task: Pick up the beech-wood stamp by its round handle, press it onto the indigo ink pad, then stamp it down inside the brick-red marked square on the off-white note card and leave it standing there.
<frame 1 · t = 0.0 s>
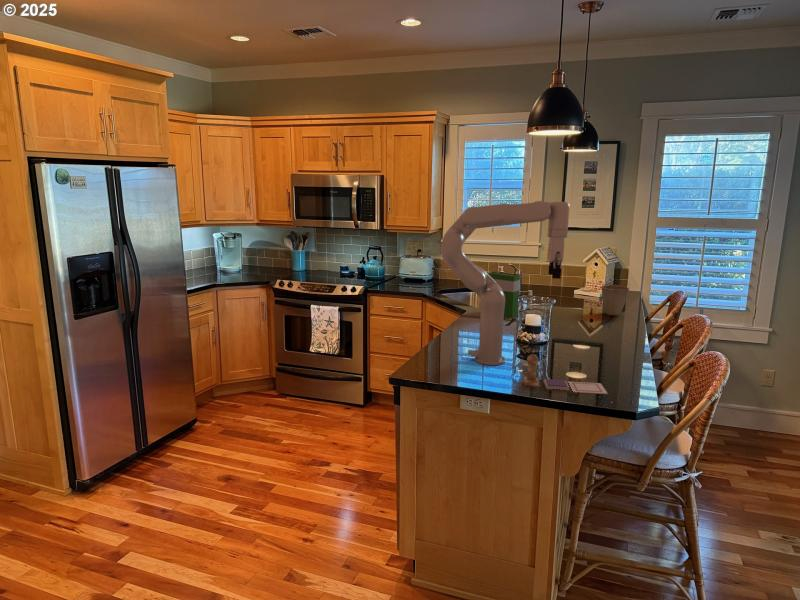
hand: (554, 276, 211), 37 cm above the countertop, tool pointing down, fingers open, 9 cm apart
note card: (586, 387, 192), on the countertop
ink pad: (556, 386, 194), on the countertop
stamp: (531, 385, 195), on the countertop
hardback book: (500, 315, 303), on the countertop
plant pot: (612, 314, 308), on the countertop
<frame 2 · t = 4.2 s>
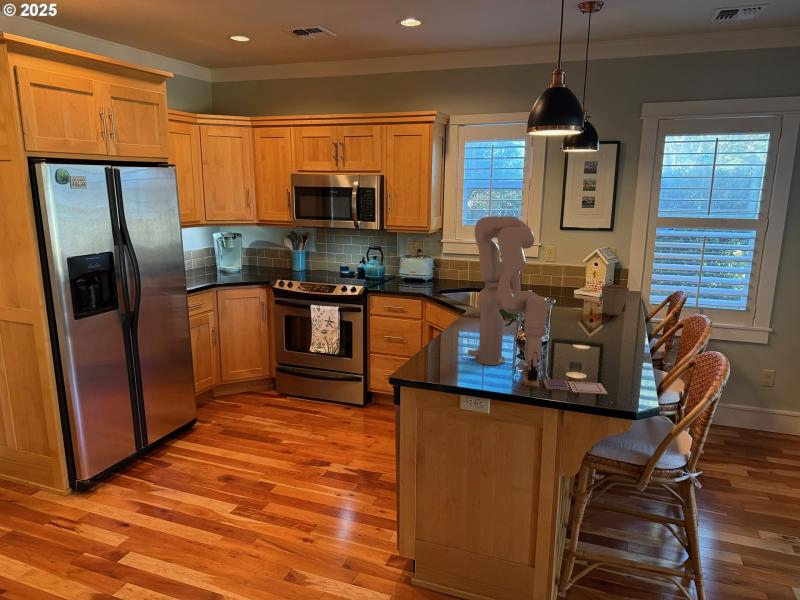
hand: (531, 377, 194), 3 cm above the countertop, tool pointing down, fingers closed on stamp, 3 cm apart
stamp: (531, 385, 195), on the countertop, touching gripper
everything else where it was.
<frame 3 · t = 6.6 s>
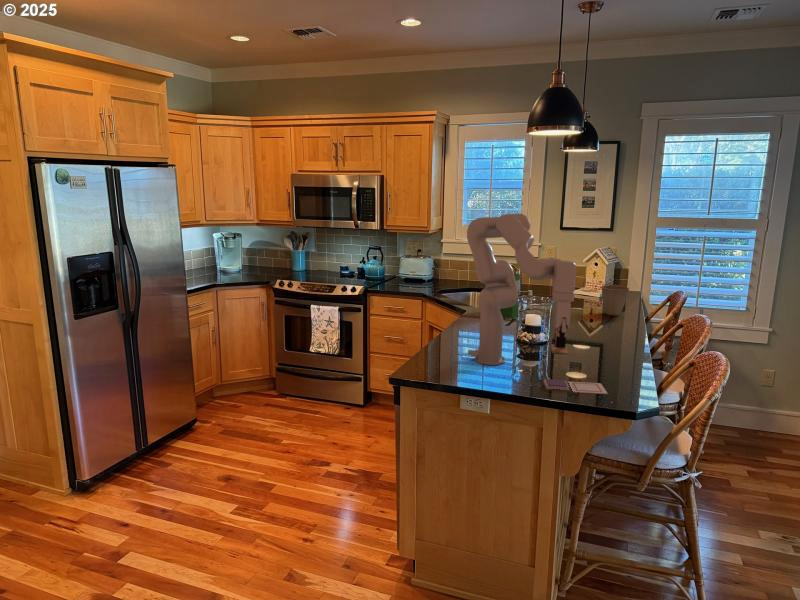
hand: (559, 345, 190), 16 cm above the countertop, tool pointing down, fingers closed on stamp, 3 cm apart
stamp: (559, 352, 191), point 13 cm above the countertop, touching gripper
everything else where it was.
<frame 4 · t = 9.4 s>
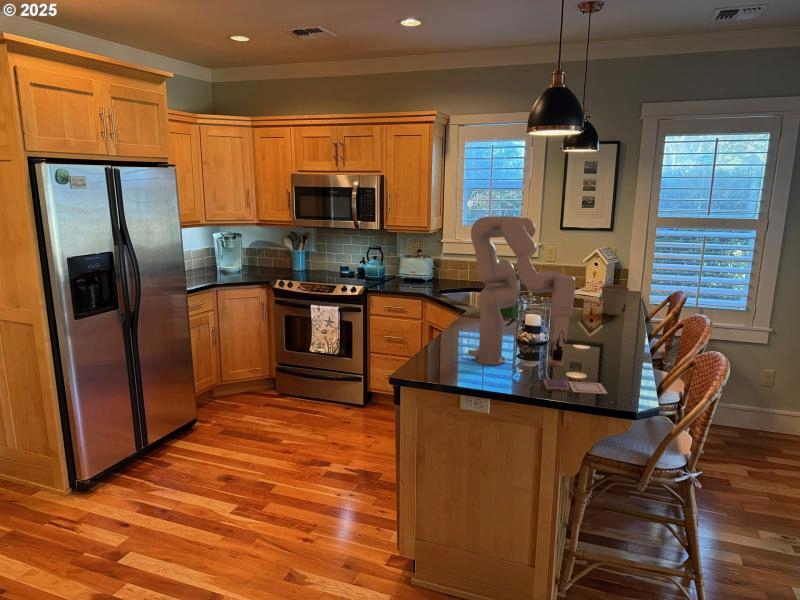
hand: (556, 357, 192), 11 cm above the countertop, tool pointing down, fingers closed on stamp, 3 cm apart
stamp: (555, 364, 193), point 8 cm above the countertop, touching gripper
everything else where it was.
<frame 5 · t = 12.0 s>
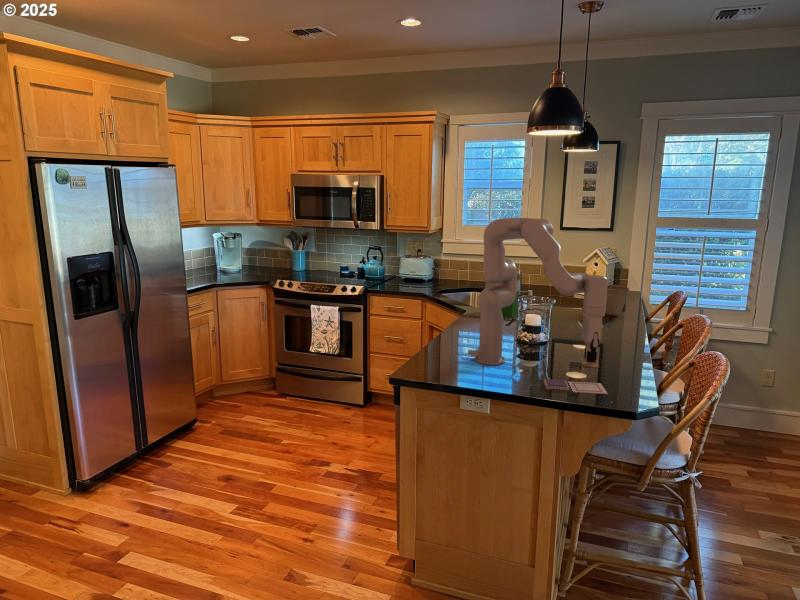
hand: (590, 359, 190), 11 cm above the countertop, tool pointing down, fingers closed on stamp, 3 cm apart
stamp: (589, 366, 190), point 8 cm above the countertop, touching gripper
everything else where it was.
when the fingers open (3 cm above the countertop, at t = 14.6 s): stamp stays where it is, resting on note card.
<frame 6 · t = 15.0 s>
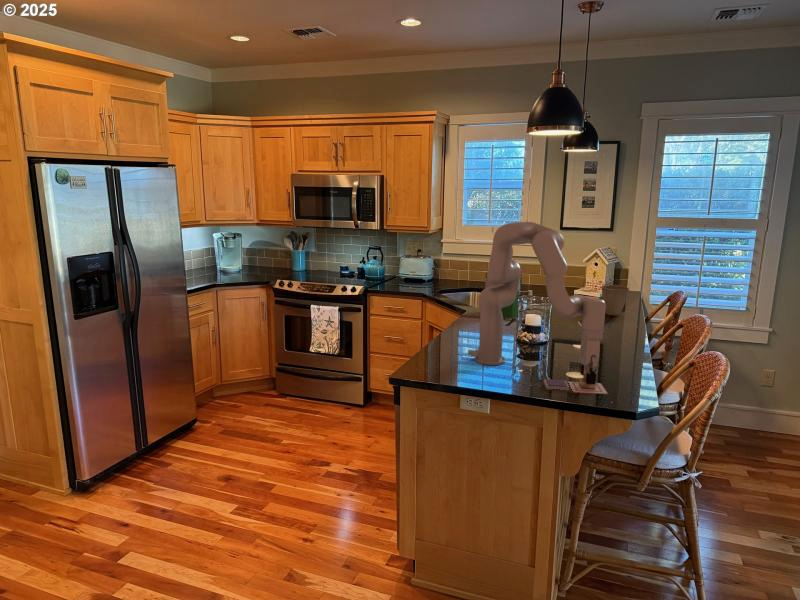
hand: (587, 379, 192), 3 cm above the countertop, tool pointing down, fingers open, 8 cm apart
stamp: (587, 387, 192), resting on note card
everything else where it was.
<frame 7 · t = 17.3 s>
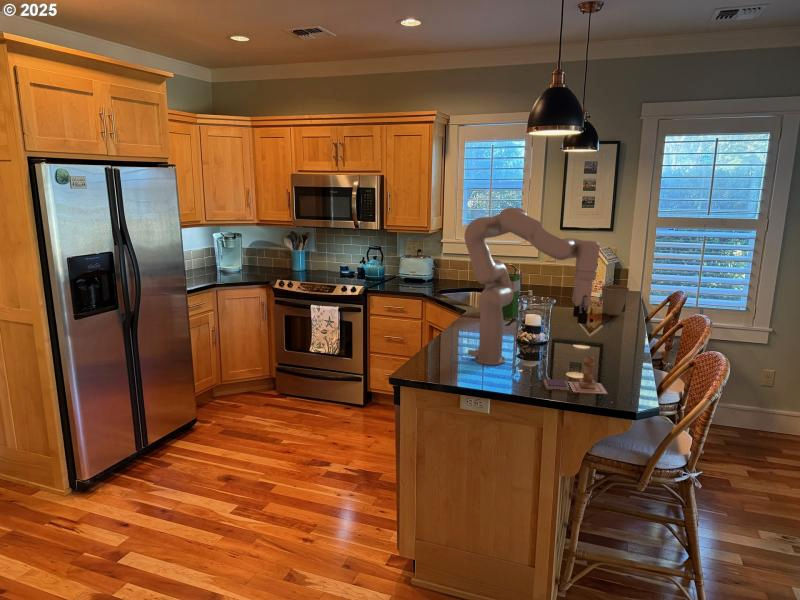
hand: (579, 320, 196), 23 cm above the countertop, tool pointing down, fingers open, 9 cm apart
nothing on the countertop moved.
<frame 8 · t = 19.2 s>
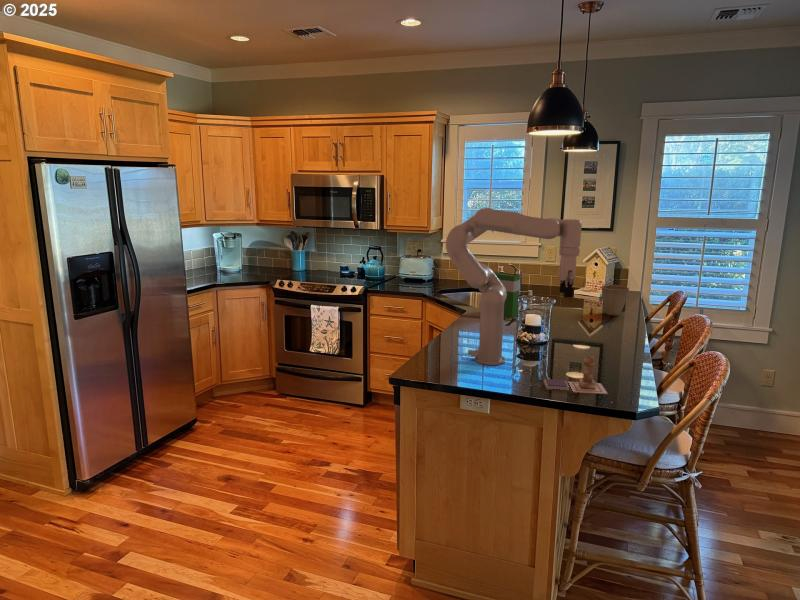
hand: (565, 294, 207), 30 cm above the countertop, tool pointing down, fingers open, 9 cm apart
nothing on the countertop moved.
at the end: stamp 0.0 cm off-centre on the note card, point 0.3 cm above the note card's base; stamp tilted 0°; the gripper is holding nothing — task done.
